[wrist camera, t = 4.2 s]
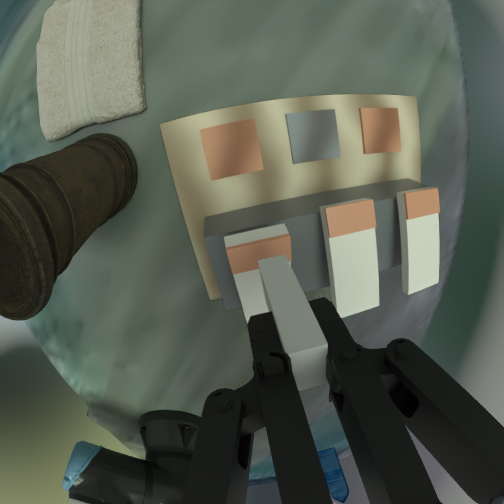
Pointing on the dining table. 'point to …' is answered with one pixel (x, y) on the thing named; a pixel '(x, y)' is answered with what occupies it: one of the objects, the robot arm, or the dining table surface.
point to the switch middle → (351, 255)
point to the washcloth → (89, 64)
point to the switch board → (286, 154)
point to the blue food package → (334, 476)
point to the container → (56, 215)
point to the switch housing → (306, 232)
